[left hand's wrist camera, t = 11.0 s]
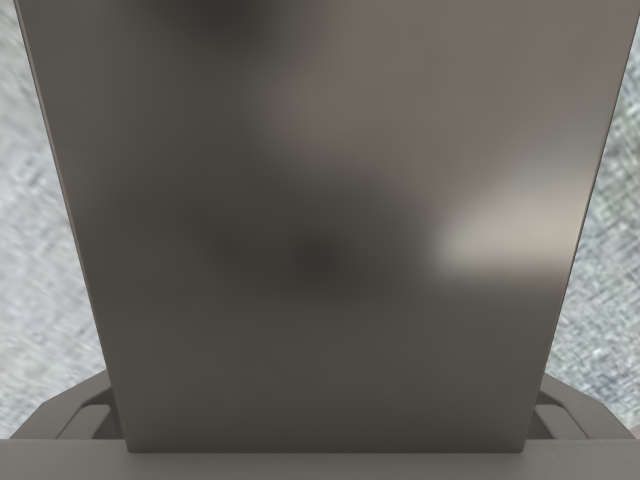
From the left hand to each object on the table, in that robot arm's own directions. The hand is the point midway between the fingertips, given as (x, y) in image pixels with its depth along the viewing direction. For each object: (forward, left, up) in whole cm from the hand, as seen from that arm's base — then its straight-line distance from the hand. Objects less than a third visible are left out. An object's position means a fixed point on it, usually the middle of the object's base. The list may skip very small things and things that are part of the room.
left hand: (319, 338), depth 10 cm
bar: (+3, +8, -4) cm, 10 cm away
